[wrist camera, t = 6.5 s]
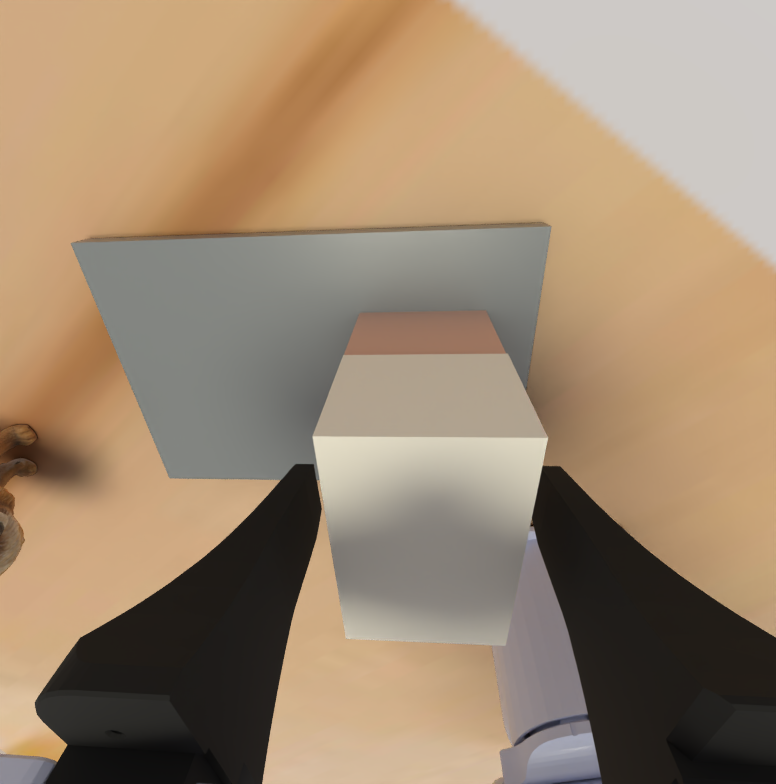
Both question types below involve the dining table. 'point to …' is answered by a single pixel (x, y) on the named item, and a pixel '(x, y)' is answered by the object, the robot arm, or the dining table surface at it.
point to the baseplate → (286, 324)
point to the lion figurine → (3, 531)
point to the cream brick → (428, 494)
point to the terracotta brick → (424, 333)
